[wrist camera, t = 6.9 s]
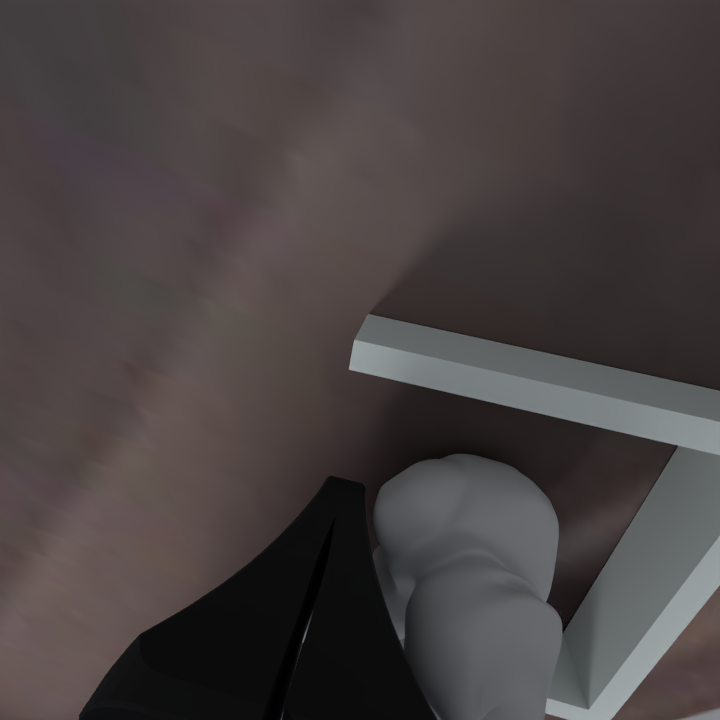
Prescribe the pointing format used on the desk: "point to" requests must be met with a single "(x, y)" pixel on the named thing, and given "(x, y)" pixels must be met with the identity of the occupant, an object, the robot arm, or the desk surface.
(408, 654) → the rubber duck
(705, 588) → the bay
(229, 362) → the desk surface
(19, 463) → the desk surface
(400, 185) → the desk surface
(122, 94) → the desk surface
